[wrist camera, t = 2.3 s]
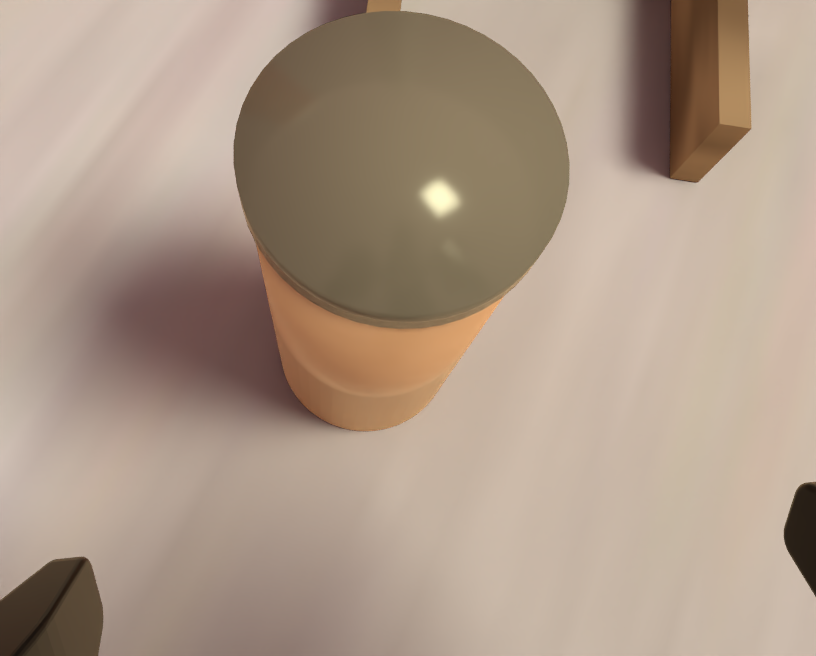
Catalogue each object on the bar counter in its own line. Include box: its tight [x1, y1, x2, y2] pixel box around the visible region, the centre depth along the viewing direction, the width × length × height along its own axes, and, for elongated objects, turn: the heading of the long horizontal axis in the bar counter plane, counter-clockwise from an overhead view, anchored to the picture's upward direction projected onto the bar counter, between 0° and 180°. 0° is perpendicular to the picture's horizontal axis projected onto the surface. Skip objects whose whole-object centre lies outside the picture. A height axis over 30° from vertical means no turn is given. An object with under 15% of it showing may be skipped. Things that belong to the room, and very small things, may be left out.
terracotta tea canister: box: [234, 11, 569, 431], centre depth 18 cm, size 5×5×12 cm
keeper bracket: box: [366, 0, 751, 182], centre depth 26 cm, size 10×12×4 cm
